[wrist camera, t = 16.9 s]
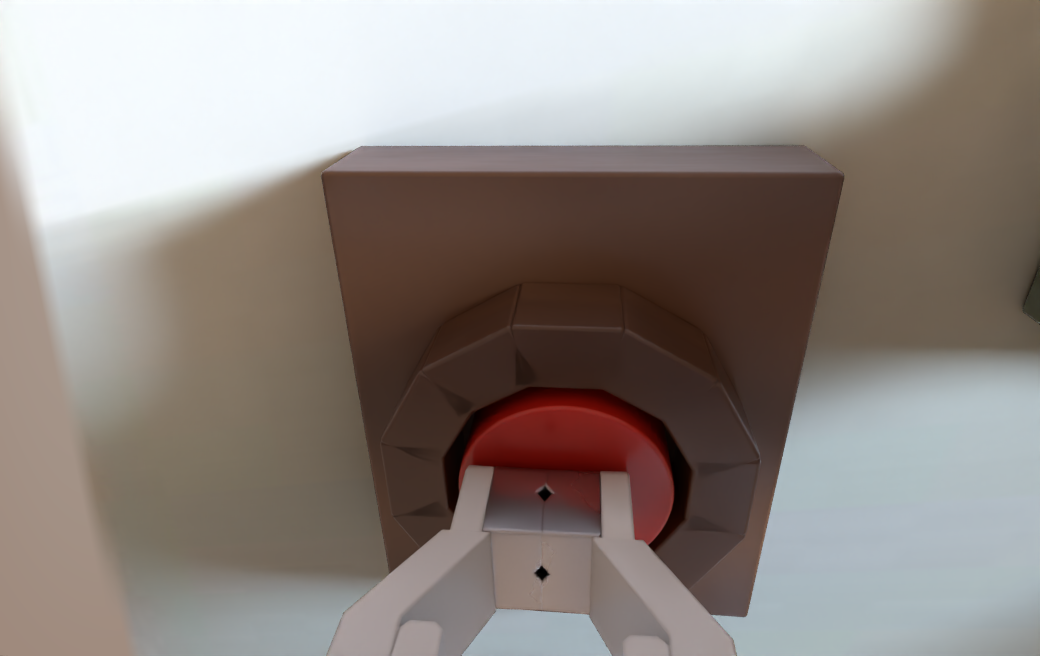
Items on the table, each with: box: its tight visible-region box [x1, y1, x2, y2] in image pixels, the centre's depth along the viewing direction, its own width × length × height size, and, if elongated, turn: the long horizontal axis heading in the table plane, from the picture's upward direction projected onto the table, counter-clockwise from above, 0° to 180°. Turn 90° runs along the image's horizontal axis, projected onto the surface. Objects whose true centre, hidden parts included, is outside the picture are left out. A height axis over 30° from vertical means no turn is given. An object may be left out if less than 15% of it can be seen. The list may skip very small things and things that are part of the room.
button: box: [458, 387, 674, 545], centre depth 12 cm, size 4×4×2 cm
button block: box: [321, 146, 844, 617], centre depth 13 cm, size 11×9×4 cm
